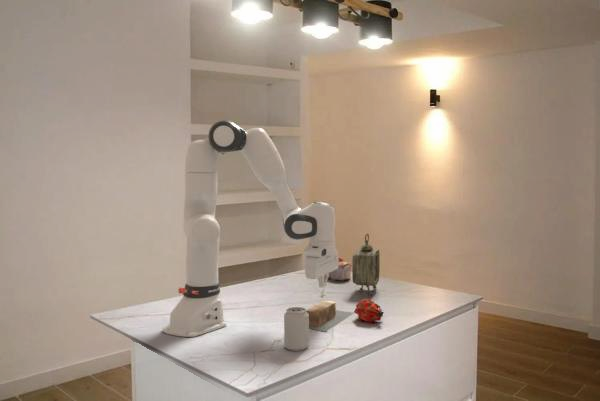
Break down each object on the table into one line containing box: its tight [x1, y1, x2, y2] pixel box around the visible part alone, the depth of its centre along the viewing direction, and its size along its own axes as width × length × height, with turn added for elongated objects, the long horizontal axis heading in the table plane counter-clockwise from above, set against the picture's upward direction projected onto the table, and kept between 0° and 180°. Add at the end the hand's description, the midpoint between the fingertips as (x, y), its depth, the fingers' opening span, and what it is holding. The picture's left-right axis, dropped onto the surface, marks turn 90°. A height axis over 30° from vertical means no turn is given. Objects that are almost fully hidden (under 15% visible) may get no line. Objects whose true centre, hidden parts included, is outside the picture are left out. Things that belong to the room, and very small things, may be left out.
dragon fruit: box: [353, 298, 384, 324], centre depth 197 cm, size 8×8×12 cm
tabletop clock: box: [351, 233, 381, 296], centre depth 238 cm, size 14×9×25 cm, turn 162°
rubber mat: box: [309, 309, 354, 333], centre depth 200 cm, size 24×14×1 cm, turn 152°
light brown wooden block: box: [306, 300, 337, 326], centre depth 198 cm, size 5×5×14 cm
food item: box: [328, 257, 352, 282], centre depth 264 cm, size 14×8×10 cm, turn 46°
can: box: [283, 306, 310, 352], centre depth 172 cm, size 8×8×12 cm
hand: (322, 286), depth 199 cm, fingers closed
